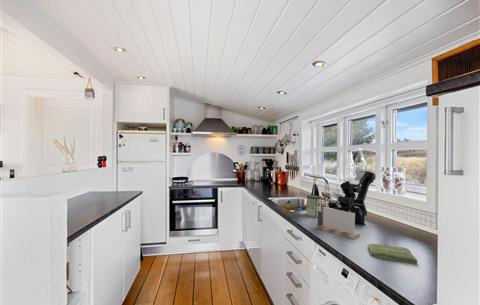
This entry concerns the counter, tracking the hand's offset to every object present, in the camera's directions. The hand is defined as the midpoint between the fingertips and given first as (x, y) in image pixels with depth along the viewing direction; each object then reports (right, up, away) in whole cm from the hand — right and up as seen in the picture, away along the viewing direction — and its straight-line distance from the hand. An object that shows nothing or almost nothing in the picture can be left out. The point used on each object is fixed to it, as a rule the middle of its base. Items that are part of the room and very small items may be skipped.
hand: (339, 220), depth 132 cm
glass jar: (-4, -7, +35) cm, 36 cm away
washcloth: (+10, -8, -29) cm, 32 cm away
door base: (-2, -7, 0) cm, 7 cm away
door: (-2, -5, 0) cm, 5 cm away
